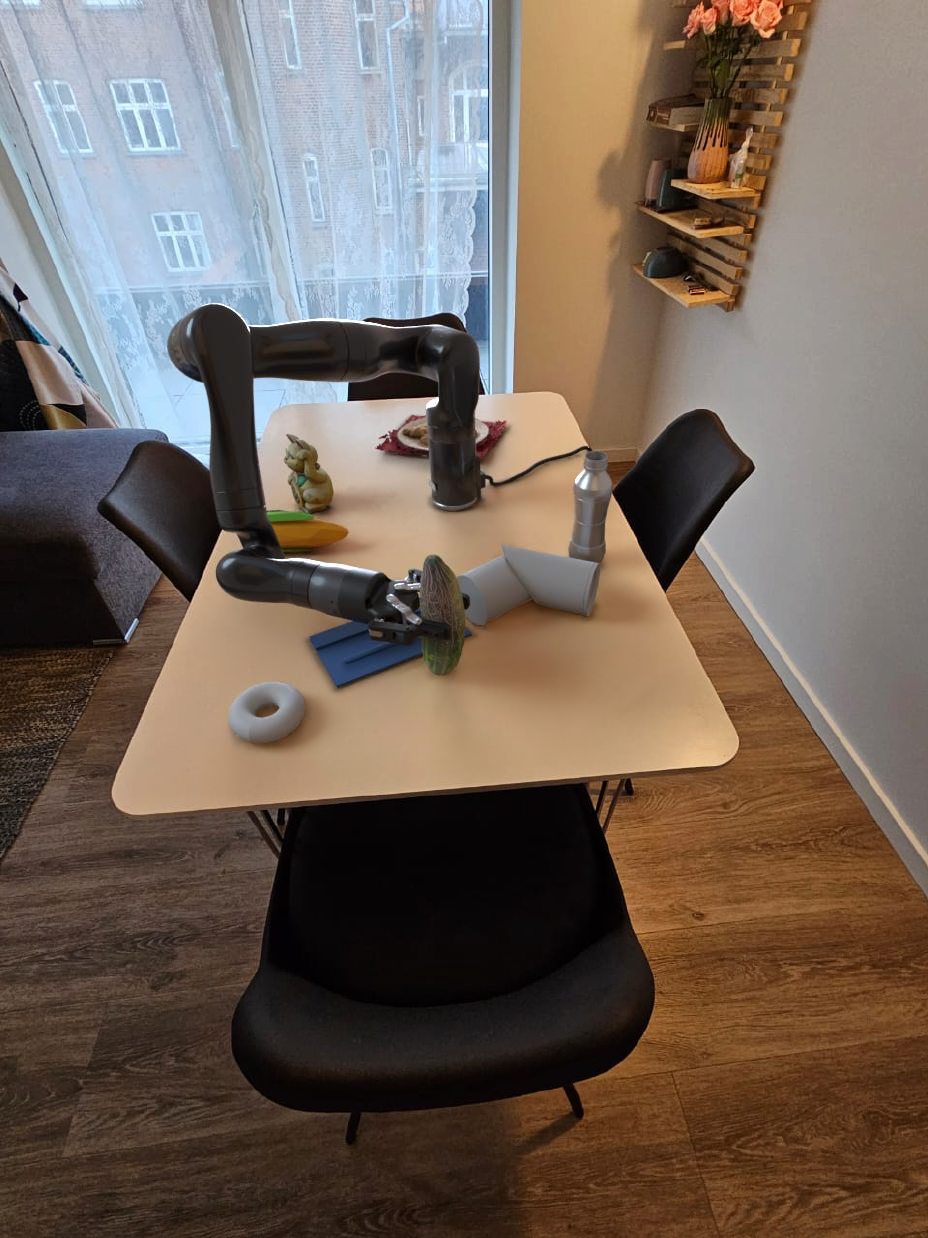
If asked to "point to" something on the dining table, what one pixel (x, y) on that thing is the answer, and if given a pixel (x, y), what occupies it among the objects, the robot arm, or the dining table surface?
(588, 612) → the elbow connector
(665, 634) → the dining table surface
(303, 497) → the decorative figurine
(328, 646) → the blue rectangular panel
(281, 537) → the corn
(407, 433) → the plate with food
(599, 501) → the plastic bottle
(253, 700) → the donut
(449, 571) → the vegetable
